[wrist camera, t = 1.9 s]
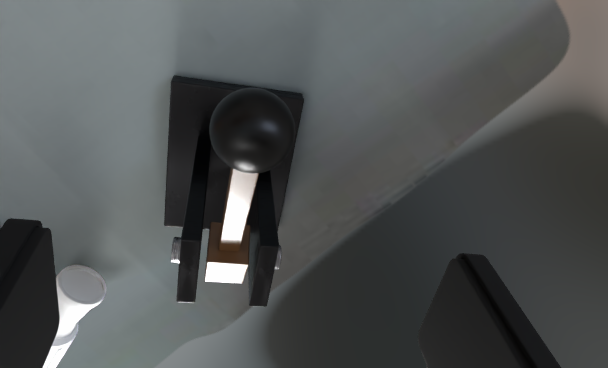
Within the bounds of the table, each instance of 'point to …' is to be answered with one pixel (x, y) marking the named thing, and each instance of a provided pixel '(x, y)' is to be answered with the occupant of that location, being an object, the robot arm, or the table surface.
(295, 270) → the table surface
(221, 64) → the table surface
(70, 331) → the binoculars
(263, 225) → the black lever stand
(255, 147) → the lever
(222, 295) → the table surface
